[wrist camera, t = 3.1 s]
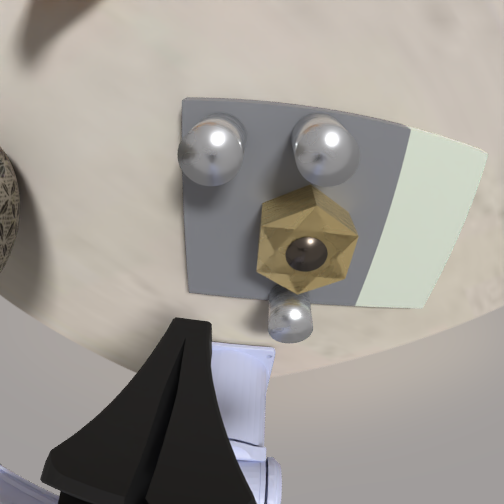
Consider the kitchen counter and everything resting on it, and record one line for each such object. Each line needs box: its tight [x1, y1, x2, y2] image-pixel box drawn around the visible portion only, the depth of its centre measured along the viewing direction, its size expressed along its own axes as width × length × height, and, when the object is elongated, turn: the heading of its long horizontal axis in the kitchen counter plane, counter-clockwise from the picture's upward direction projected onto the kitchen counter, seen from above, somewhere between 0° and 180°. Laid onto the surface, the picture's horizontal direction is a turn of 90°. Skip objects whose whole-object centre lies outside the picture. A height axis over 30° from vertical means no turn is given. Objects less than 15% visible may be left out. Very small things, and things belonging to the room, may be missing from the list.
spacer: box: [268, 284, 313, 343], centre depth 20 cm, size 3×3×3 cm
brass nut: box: [256, 184, 359, 295], centre depth 17 cm, size 6×5×3 cm
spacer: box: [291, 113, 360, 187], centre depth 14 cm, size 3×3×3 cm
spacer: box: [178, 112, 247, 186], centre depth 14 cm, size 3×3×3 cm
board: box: [182, 98, 488, 308], centre depth 18 cm, size 13×18×1 cm
